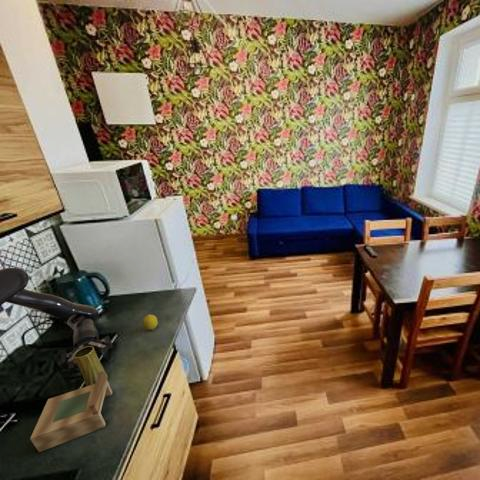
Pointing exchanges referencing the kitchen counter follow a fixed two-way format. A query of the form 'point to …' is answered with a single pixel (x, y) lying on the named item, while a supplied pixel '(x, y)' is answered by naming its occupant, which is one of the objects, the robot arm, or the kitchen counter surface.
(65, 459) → the kitchen counter surface
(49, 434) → the wooden tray
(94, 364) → the vase
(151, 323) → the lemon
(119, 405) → the kitchen counter surface
